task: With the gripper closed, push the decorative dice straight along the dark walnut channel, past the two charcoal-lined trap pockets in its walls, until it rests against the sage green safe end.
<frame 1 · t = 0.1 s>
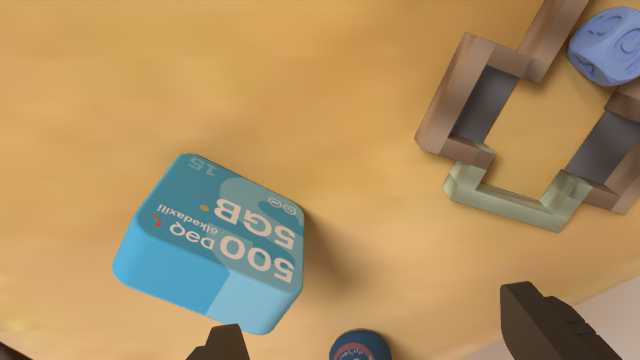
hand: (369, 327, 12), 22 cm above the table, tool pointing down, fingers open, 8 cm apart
soda can: (358, 343, 45), on the table
light blue box: (237, 196, 35), on the table
decorative dice: (592, 43, 30), on the table
trap channel: (556, 104, 32), on the table
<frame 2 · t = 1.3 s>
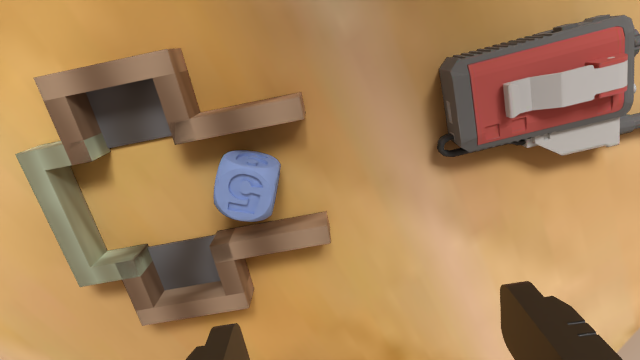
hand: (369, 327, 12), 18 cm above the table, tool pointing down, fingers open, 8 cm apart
decorative dice: (253, 174, 30), on the table
trap channel: (190, 188, 30), on the table
walkie-talkie: (565, 86, 28), on the table
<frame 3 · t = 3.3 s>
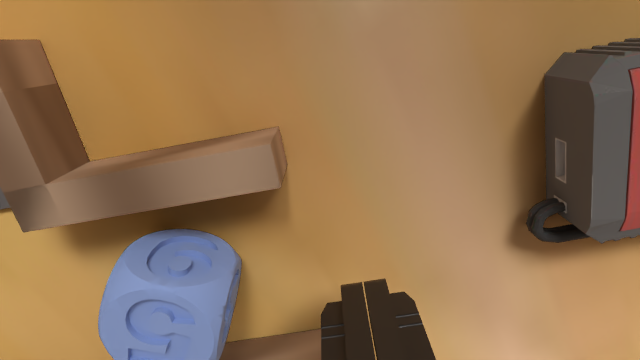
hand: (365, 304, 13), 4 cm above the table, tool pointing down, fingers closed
decorative dice: (195, 267, 17), on the table
trap channel: (84, 289, 17), on the table
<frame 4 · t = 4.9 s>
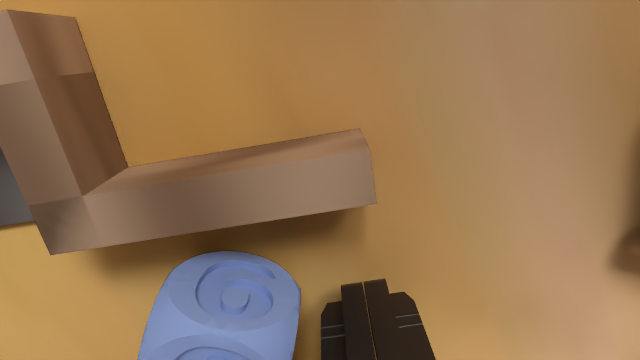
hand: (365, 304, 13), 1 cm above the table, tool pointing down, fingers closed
decorative dice: (240, 295, 14), on the table, touching gripper
trap channel: (112, 317, 14), on the table
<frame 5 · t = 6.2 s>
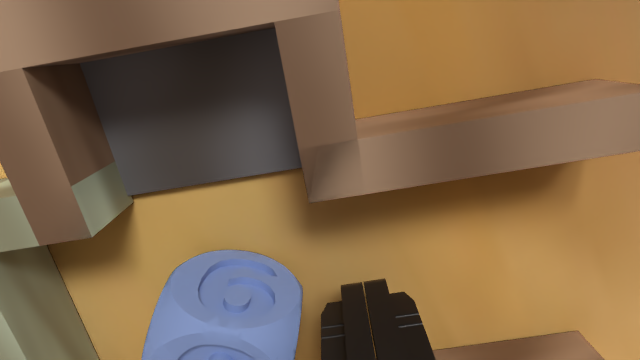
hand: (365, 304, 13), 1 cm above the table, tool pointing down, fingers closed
decorative dice: (242, 293, 14), on the table, touching gripper
trap channel: (302, 280, 14), on the table
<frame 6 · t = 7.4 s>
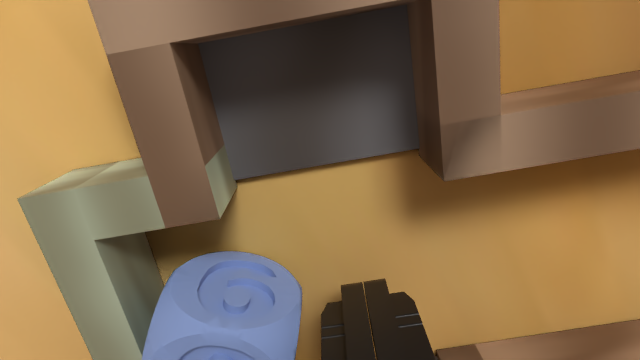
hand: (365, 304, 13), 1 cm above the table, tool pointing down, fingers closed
decorative dice: (241, 295, 14), on the table, touching gripper, trap channel
trap channel: (400, 266, 14), on the table
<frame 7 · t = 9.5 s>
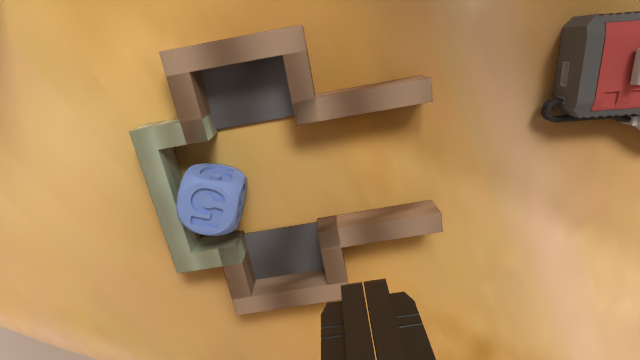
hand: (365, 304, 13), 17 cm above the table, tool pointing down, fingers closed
decorative dice: (220, 187, 30), on the table
trap channel: (295, 173, 29), on the table
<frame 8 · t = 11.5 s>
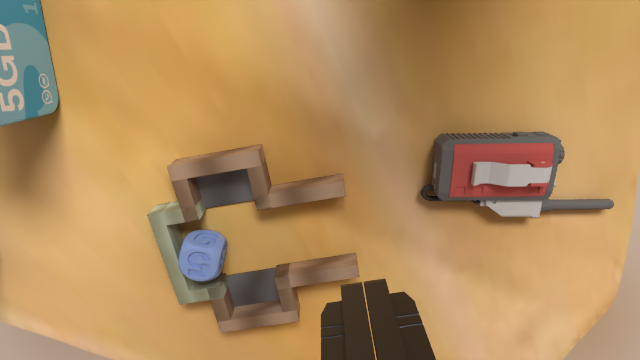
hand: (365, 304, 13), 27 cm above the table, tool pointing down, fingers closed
light blue box: (27, 46, 36), on the table
decorative dice: (209, 244, 43), on the table
trap channel: (260, 235, 42), on the table
walkie-talkie: (514, 170, 40), on the table
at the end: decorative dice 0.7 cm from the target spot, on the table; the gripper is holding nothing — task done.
